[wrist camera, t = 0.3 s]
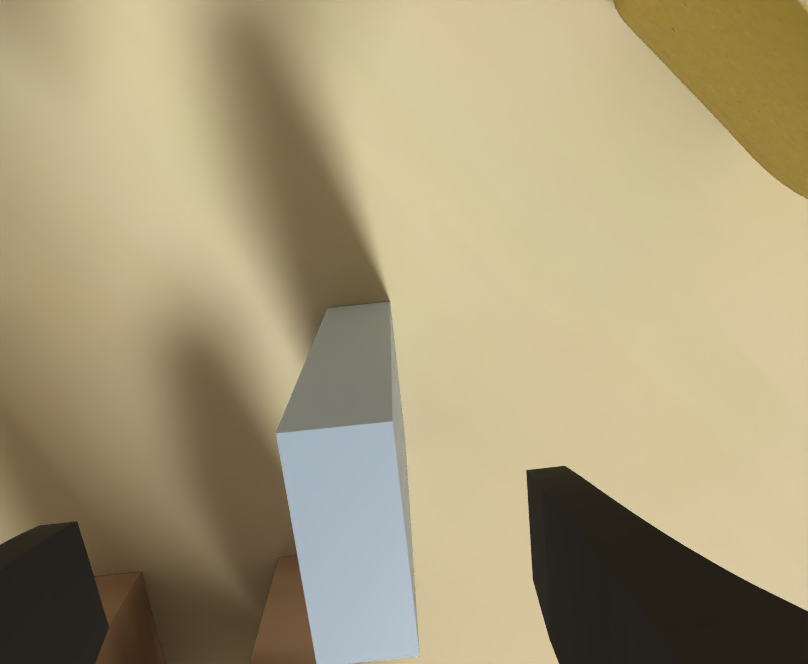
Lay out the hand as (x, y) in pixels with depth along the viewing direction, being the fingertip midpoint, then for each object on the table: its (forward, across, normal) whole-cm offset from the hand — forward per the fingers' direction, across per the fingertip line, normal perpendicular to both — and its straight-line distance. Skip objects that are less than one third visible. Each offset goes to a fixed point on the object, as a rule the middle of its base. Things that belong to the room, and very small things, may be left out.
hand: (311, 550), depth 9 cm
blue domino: (+10, 0, +1) cm, 10 cm away
